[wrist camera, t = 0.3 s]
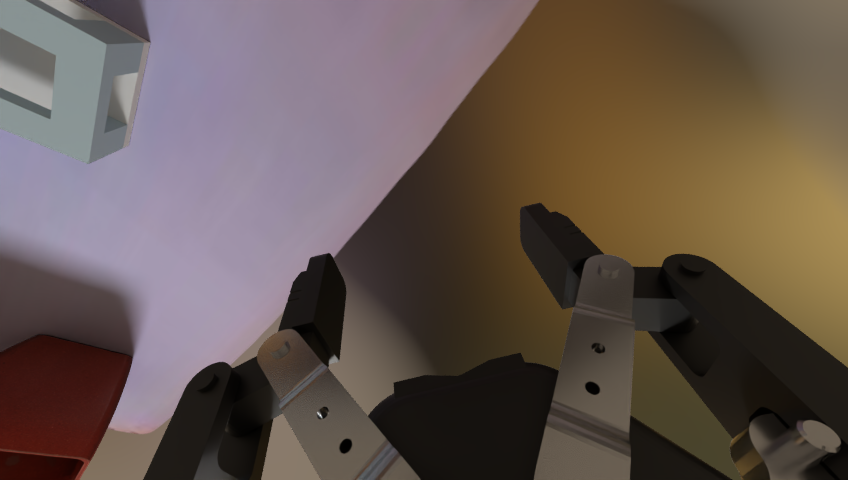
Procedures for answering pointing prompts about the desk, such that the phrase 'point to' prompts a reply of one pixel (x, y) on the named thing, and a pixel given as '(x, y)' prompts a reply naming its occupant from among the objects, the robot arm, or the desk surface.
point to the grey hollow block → (68, 77)
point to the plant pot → (56, 406)
